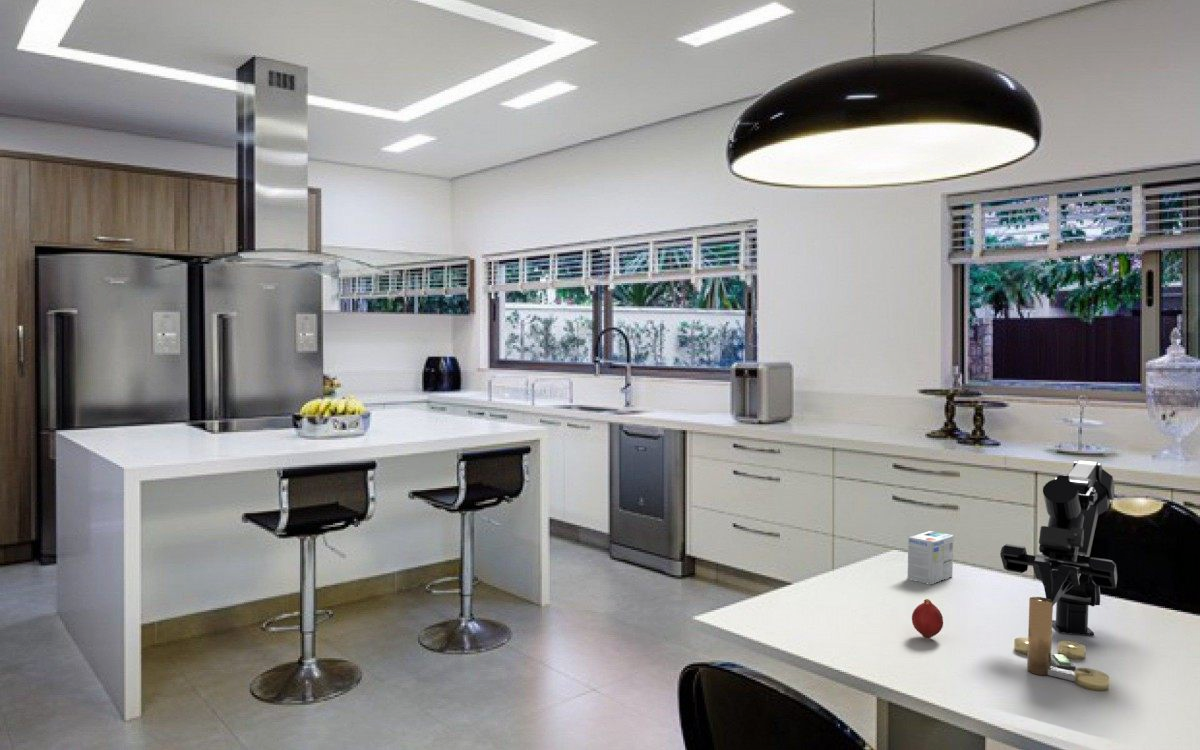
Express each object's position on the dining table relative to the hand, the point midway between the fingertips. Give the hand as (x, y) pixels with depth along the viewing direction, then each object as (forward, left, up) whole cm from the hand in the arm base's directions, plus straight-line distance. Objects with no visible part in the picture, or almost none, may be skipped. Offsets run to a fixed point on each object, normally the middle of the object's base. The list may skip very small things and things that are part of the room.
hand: (1049, 604), depth 148 cm
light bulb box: (-52, -11, -11) cm, 55 cm away
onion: (-9, -19, -11) cm, 24 cm away
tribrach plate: (+3, +1, -11) cm, 12 cm away
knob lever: (+9, 0, -10) cm, 13 cm away
